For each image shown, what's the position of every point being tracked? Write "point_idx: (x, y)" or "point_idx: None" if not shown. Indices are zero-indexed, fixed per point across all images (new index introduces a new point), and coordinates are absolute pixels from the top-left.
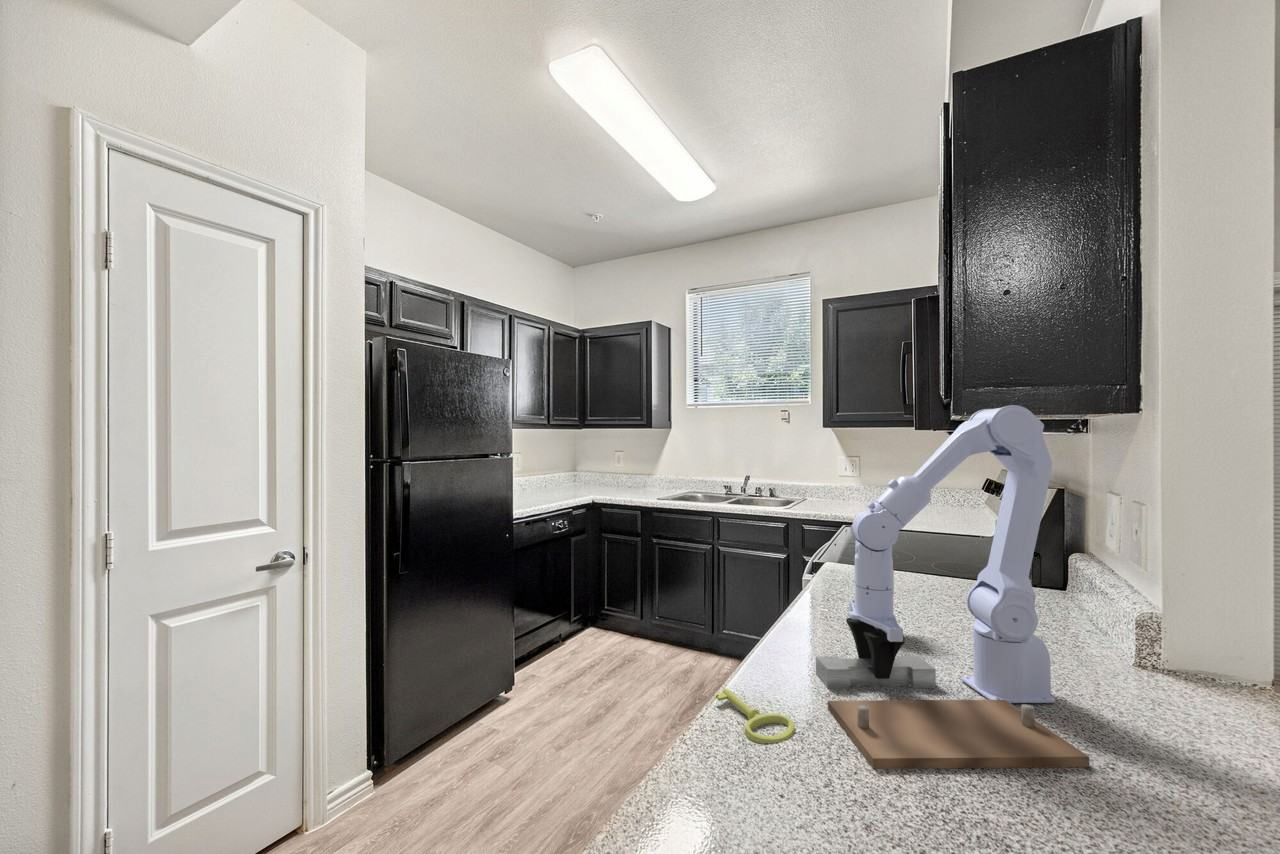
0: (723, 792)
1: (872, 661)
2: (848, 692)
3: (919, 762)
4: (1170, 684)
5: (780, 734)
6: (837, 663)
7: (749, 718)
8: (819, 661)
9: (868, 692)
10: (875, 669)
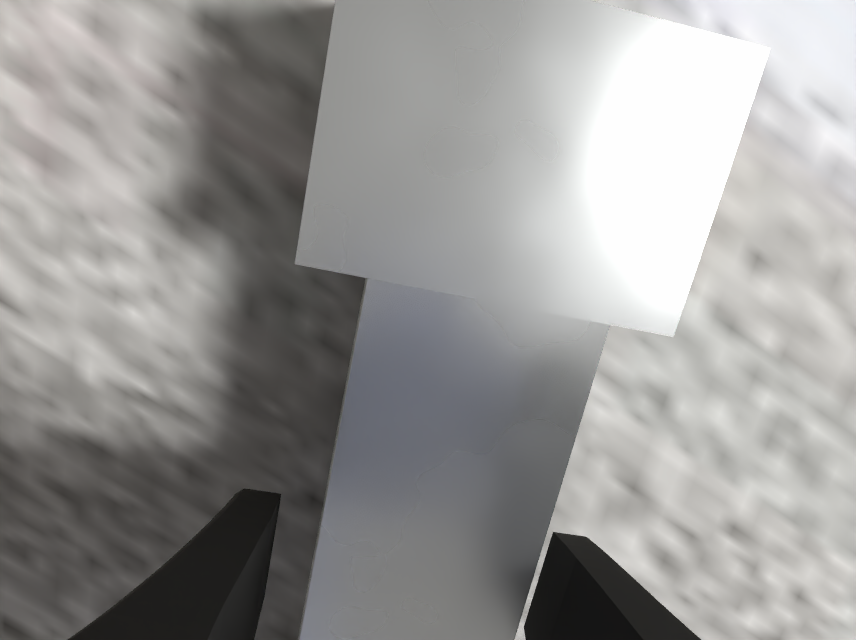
0: None
1: (223, 574)
2: (244, 165)
3: None
4: None
5: None
6: (486, 207)
7: None
8: (637, 18)
9: (220, 342)
10: (205, 531)
